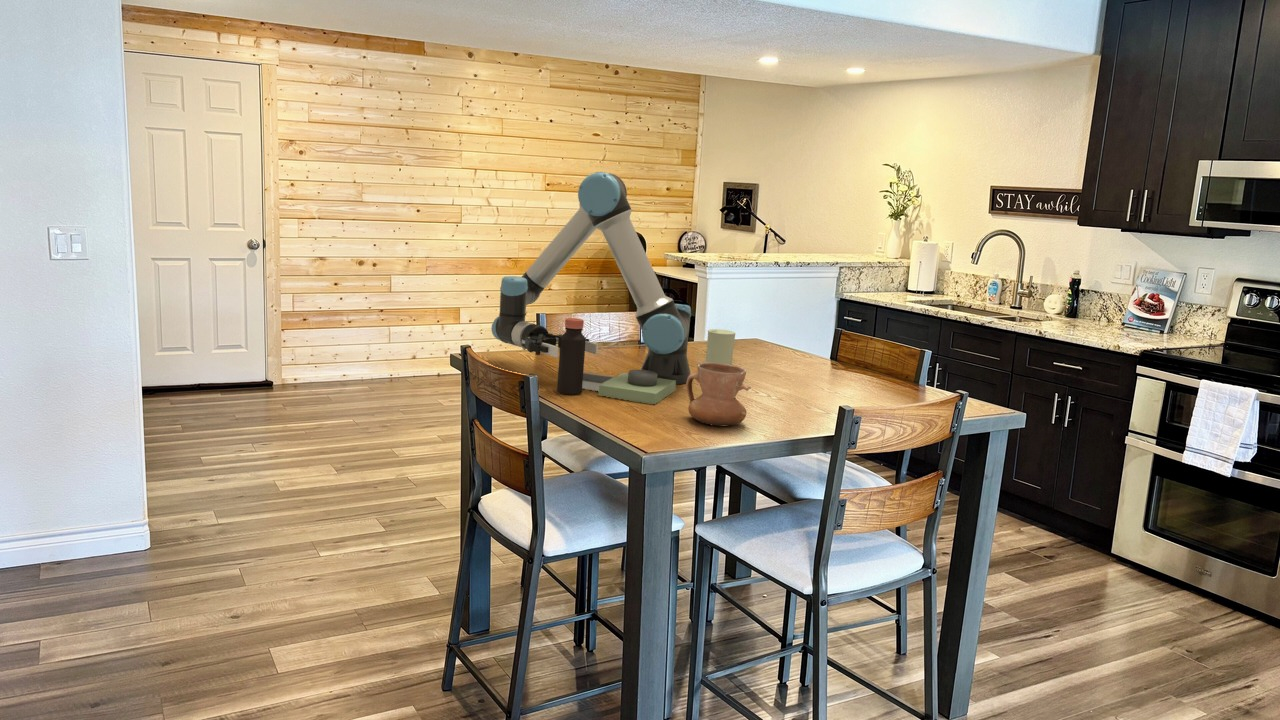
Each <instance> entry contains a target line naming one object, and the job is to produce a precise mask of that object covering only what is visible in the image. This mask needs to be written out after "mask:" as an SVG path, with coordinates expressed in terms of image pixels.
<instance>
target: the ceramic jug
mask: <svg viewBox="0 0 1280 720" xmlns="http://www.w3.org/2000/svg"><path fill="white" fill-rule="evenodd" d="M696 370H697V373H696V372H695V373H691V375H689V377H688V379H687V382H686V383H685V385H686V386H685V388H686V393H687V396H688V400H689V405H688V413H689V415H690V416H691V417H692V418H693V419H694V420H696V421H698V422H700V423H702V424H704V423H706V424H705V425H708V424H712V425H711V426H713V425H731V426H735V425H738V424H740V423H742V422H743V421H744V420H745V418H746V417H747V409H746V407H745V405H743V404H742V403H741V402H740V401H739V400H738V399H737V398H736V396H737V394H738V392H739V391H742V390H745V391H746V392H748V391H749V390H750V389H752V386H750V384H748V383H744V381H745V378H746V376H747V369H745V368H744V367H742V366H738V365H733V364H732V365H725V364H718V363H705V362H700V363H698V364H697V369H696ZM694 380H695V381H697V382H698V383H699V387H700V391H701V392H702V393H701V394H700V396H698V397H694V392H693V381H694Z"/></svg>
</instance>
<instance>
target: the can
mask: <svg viewBox="0 0 1280 720" xmlns="http://www.w3.org/2000/svg"><path fill="white" fill-rule="evenodd" d="M706 341H707V342H706V350H705V359H704V363H718V364H725V365H732V366H733V359H734V358H733V357H734V356H733V355H734V349H735V341H736V332H735V331H732V330H728V329H727V330H726V329H718V328H716V329H714V328H712V329H711V328H710V329H708V330H707V340H706Z"/></svg>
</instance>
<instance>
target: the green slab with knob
mask: <svg viewBox="0 0 1280 720" xmlns="http://www.w3.org/2000/svg"><path fill="white" fill-rule="evenodd" d="M676 385H677V384H676V381H675V380H669V379H662V378H657V373H656V372H653V371H648V370H641V369H630V370H629V371H628V373H627V372H622V373H619V374H618V375H615V376H610V375H604V374H599V373H598V374H597V373H590V372H585V371H583V383H582V389H585V390H584V391H589V390H592V391H591V392H595V391H598V393H597V395H599V396H598V397H602V396H606V397H605V398H608V397H611V398H610V399H615V398H618V399H617V400H621V399H624V400H623V401H627V400H629V402H635V403H640V402H641V404H649V405H653V404H655V405H657V404H658V403H660V402H662V401H663V400H664V399H665V397H666V398H667V397H668V396H670V395H671V394H673V393H674V392H676ZM662 399H663V400H662ZM656 403H657V404H656Z"/></svg>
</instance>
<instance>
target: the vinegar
mask: <svg viewBox="0 0 1280 720" xmlns="http://www.w3.org/2000/svg"><path fill="white" fill-rule="evenodd" d="M584 321H585V320H584V319H582V318H577V317H568V318H565V320H564V330H565V332H564V333H563V334H561V335H562V336H561V340H560V348H559V354H558V370H557V371H558V372H557V385H556V388H557V389H556V391H557V392H558V393H559V394H561V393H562V395H566V394H568V395H567V396H569V395H570V396H575V395H576V394H578V395H580V394H582V393H583V390H582V383H583V372H584V368H585V355H586V354H585V353H586V351H585V343H586V339H587V337H586V336H584V334H583V332H582V331H583V329H584ZM585 337H586V338H585Z"/></svg>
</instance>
